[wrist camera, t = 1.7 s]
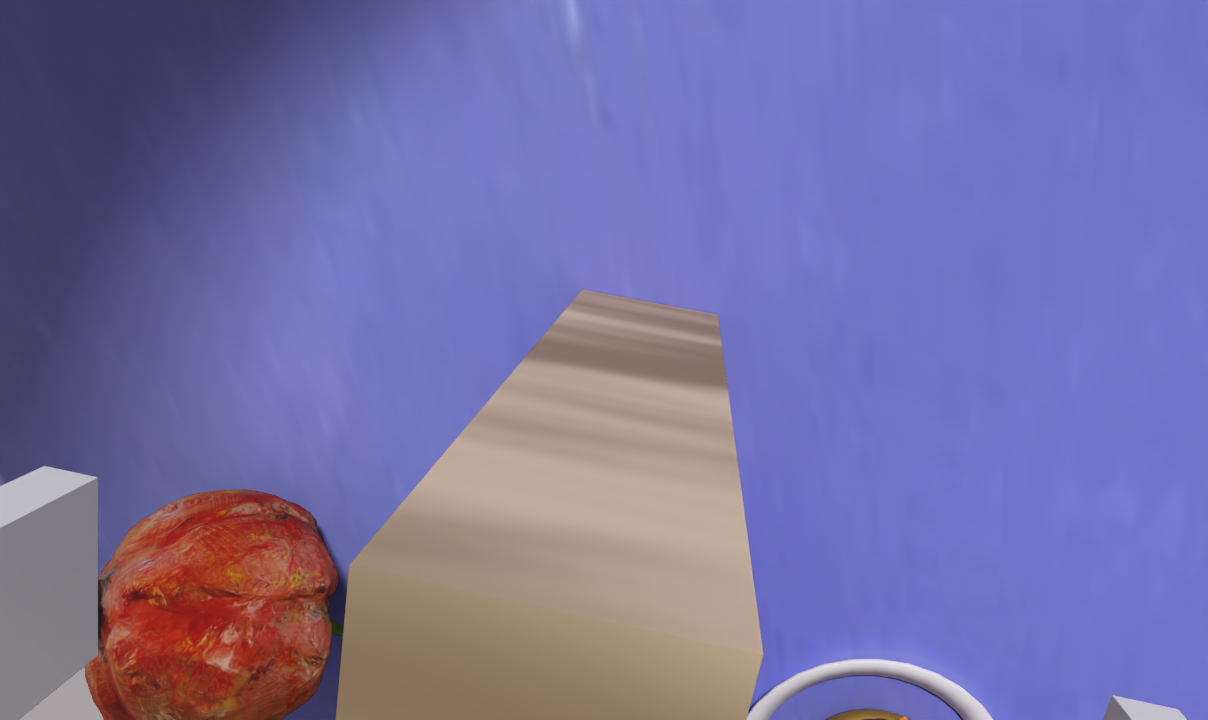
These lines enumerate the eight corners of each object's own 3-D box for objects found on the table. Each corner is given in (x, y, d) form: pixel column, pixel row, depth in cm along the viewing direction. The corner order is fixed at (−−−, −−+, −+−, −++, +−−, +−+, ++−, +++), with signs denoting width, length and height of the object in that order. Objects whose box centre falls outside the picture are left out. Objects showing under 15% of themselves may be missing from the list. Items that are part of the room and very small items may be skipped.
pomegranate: (433, 501, 28) (150, 390, 21) (453, 710, 23) (96, 653, 16) (302, 595, 30) (14, 523, 24) (296, 801, 26) (-68, 784, 19)
